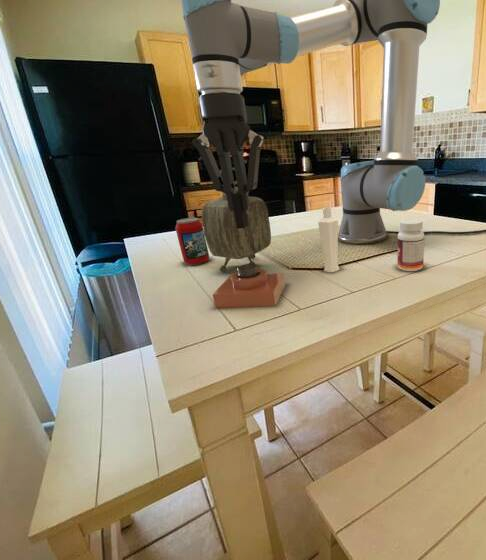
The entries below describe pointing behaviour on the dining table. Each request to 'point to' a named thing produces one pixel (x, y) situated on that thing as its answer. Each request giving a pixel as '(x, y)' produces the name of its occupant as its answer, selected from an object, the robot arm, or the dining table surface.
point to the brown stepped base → (250, 290)
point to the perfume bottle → (329, 240)
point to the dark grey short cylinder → (247, 271)
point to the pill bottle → (410, 245)
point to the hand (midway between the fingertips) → (242, 226)
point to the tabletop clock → (235, 229)
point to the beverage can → (192, 241)
